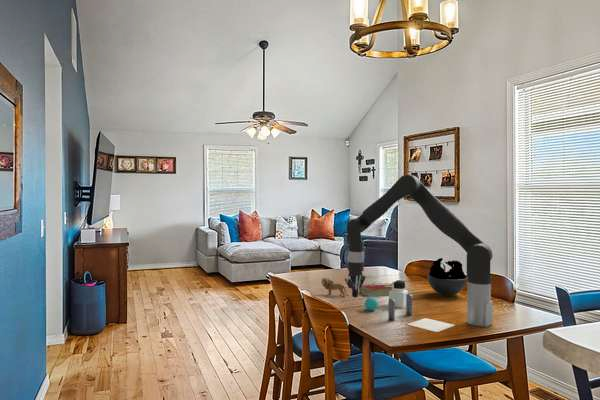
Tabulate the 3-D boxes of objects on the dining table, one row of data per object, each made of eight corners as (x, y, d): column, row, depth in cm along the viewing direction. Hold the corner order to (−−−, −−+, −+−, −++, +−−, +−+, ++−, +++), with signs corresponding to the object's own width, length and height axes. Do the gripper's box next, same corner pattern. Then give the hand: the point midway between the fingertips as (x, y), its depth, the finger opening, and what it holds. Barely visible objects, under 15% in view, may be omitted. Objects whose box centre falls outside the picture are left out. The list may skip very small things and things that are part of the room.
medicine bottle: (407, 305, 226) (408, 280, 225) (403, 308, 219) (403, 282, 219) (393, 303, 229) (394, 278, 229) (388, 306, 223) (389, 281, 223)
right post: (413, 314, 208) (413, 294, 207) (409, 316, 206) (410, 295, 206) (408, 313, 210) (408, 293, 209) (404, 314, 208) (405, 294, 208)
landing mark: (455, 325, 192) (455, 325, 192) (437, 332, 182) (437, 331, 182) (425, 318, 202) (425, 318, 202) (406, 324, 193) (406, 324, 193)
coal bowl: (469, 300, 236) (470, 263, 235) (428, 298, 240) (429, 261, 239) (463, 292, 255) (464, 257, 255) (426, 290, 259) (426, 256, 259)
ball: (380, 310, 215) (380, 297, 215) (372, 312, 211) (372, 299, 211) (370, 308, 219) (370, 295, 219) (362, 310, 215) (362, 297, 215)
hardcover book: (359, 292, 254) (359, 285, 254) (394, 290, 260) (394, 283, 260) (368, 297, 242) (368, 289, 242) (404, 295, 248) (405, 287, 248)
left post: (395, 320, 199) (396, 299, 199) (392, 321, 197) (392, 300, 197) (390, 319, 201) (391, 298, 200) (387, 320, 199) (387, 299, 199)
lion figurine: (320, 295, 245) (320, 278, 244) (322, 293, 250) (322, 276, 249) (347, 297, 240) (348, 280, 240) (349, 295, 245) (350, 278, 245)
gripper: (352, 263, 214) (351, 300, 215) (370, 260, 223) (370, 296, 224) (340, 261, 220) (339, 297, 220) (358, 258, 229) (357, 293, 229)
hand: (355, 297), depth 222 cm, fingers closed
